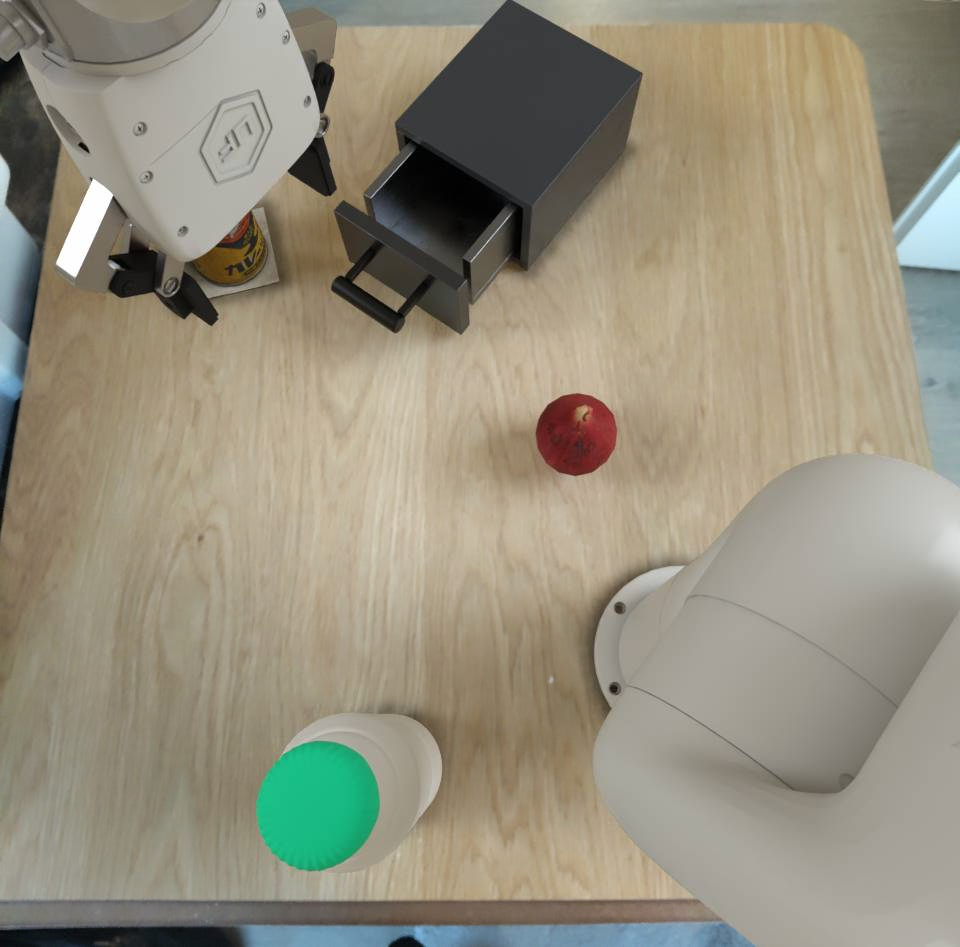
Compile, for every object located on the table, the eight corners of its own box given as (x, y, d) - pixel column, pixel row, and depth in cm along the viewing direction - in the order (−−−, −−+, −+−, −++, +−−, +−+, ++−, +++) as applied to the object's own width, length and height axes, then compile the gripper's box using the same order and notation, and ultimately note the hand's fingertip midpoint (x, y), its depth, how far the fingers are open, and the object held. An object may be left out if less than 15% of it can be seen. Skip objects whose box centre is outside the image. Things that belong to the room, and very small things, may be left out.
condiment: (280, 282, 66) (235, 190, 54) (178, 306, 65) (110, 218, 54) (264, 208, 68) (217, 104, 56) (165, 231, 67) (97, 131, 56)
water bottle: (318, 771, 55) (181, 812, 31) (390, 692, 56) (314, 673, 32) (392, 848, 53) (308, 955, 29) (464, 764, 55) (442, 801, 31)
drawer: (427, 376, 62) (420, 336, 56) (315, 299, 64) (294, 252, 58) (559, 215, 66) (566, 160, 60) (448, 148, 68) (444, 88, 62)
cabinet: (527, 271, 66) (532, 207, 57) (406, 194, 68) (394, 122, 60) (625, 149, 69) (643, 72, 61) (506, 80, 71) (508, -3, 63)
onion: (602, 494, 60) (618, 461, 52) (527, 479, 60) (532, 444, 53) (614, 422, 62) (631, 380, 54) (540, 409, 62) (547, 365, 54)
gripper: (0, 186, 24) (199, 401, 41) (356, -152, 28) (407, 167, 45) (-161, 71, 26) (94, 323, 42) (200, -235, 30) (304, 104, 46)
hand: (255, 243), depth 43 cm, fingers open, 9 cm apart
